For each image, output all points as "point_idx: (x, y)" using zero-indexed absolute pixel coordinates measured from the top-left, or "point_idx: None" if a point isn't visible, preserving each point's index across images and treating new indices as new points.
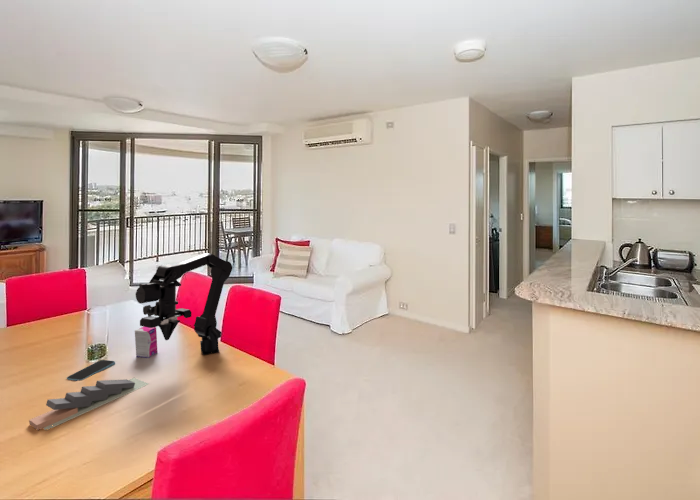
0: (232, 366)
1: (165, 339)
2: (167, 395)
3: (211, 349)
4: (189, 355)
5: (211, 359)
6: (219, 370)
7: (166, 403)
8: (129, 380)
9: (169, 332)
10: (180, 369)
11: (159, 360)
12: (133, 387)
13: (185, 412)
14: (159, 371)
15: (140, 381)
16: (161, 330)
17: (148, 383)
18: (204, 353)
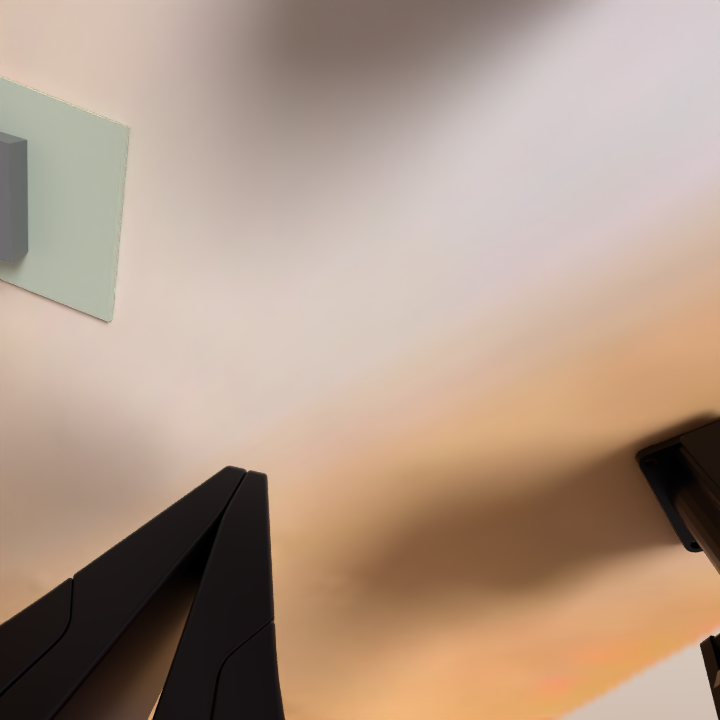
0: (443, 651)
1: (220, 480)
2: (78, 480)
3: (688, 528)
4: (641, 339)
5: (544, 531)
6: (384, 609)
7: (31, 506)
8: (9, 187)
9: (150, 697)
10: (355, 401)
11: (513, 87)
12: (24, 251)
13: (28, 590)
14: (290, 262)
15: (102, 236)
16: (21, 619)
17: (107, 315)
18: (649, 466)
